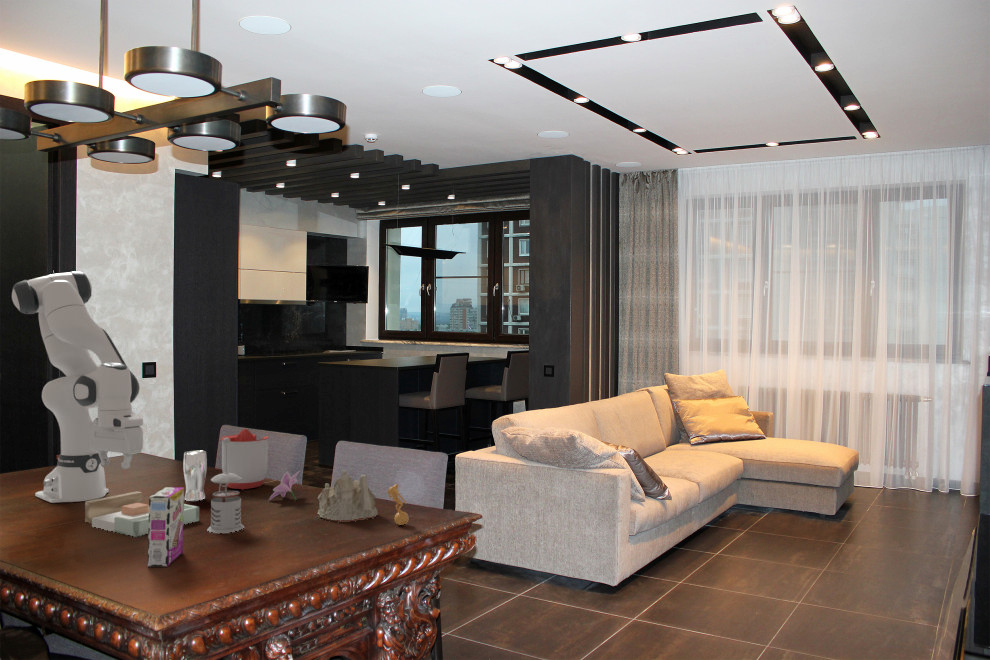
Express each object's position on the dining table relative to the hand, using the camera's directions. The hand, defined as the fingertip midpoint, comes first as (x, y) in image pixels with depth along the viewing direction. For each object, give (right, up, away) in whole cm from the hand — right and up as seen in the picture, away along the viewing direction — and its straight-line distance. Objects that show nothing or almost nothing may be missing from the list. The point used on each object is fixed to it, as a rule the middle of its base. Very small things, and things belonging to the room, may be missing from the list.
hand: (115, 467), depth 223 cm
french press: (+35, -15, -10) cm, 40 cm away
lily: (+43, -15, +24) cm, 51 cm away
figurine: (+82, -16, -6) cm, 84 cm away
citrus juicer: (+24, -15, +44) cm, 52 cm away
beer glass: (+14, -15, +23) cm, 31 cm away
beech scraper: (-1, -15, 0) cm, 15 cm away
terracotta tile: (+8, -12, -4) cm, 15 cm away
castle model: (+66, -16, +5) cm, 68 cm away
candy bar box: (+31, -16, -39) cm, 52 cm away
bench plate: (+8, -15, -5) cm, 17 cm away
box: (+16, -15, -9) cm, 24 cm away
